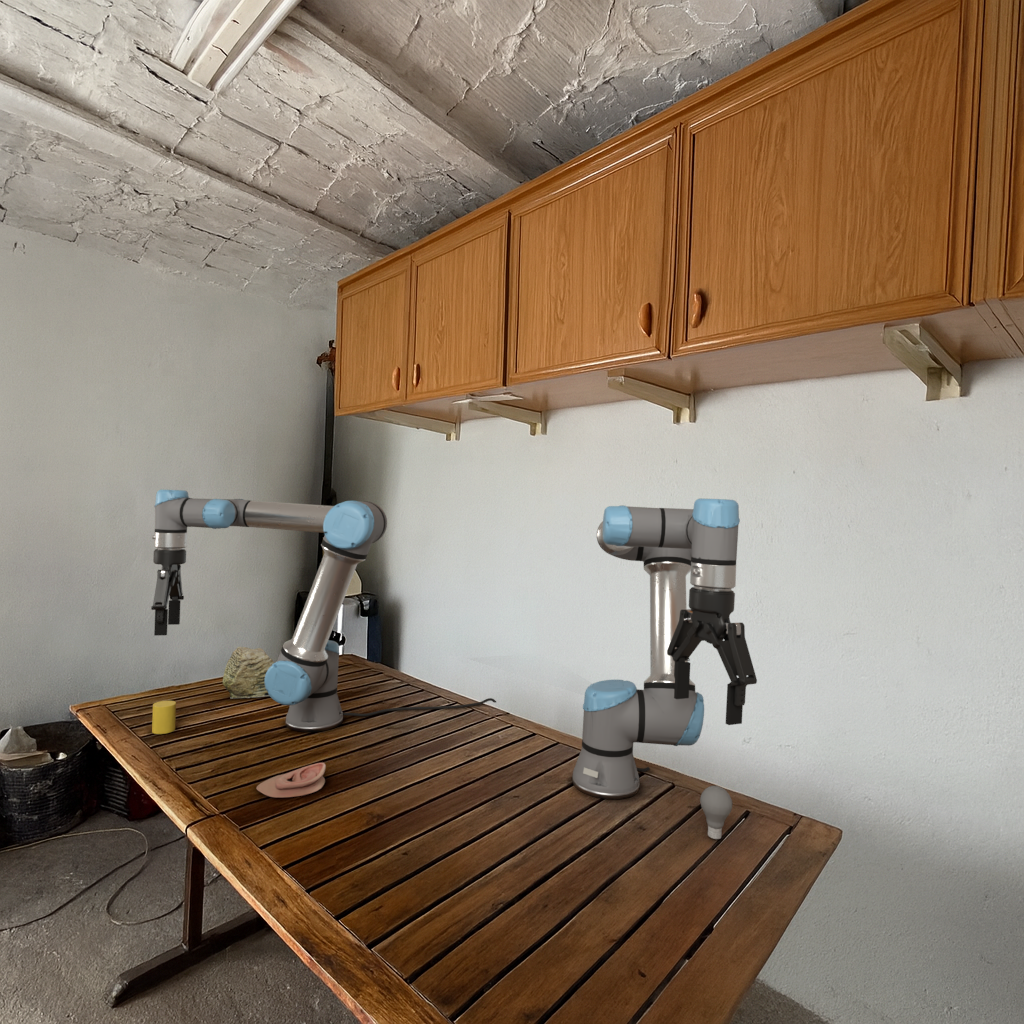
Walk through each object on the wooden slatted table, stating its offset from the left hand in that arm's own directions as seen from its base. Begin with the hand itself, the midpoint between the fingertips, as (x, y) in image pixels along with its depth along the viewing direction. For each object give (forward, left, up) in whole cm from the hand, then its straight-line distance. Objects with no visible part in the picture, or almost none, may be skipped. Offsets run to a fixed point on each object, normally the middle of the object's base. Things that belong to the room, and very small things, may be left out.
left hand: (167, 629), depth 166 cm
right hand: (-34, +132, +3) cm, 136 cm away
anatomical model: (-5, +52, -27) cm, 59 cm away
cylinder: (0, 0, -27) cm, 27 cm away
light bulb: (-49, +129, -27) cm, 140 cm away
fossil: (-32, -11, -27) cm, 43 cm away
